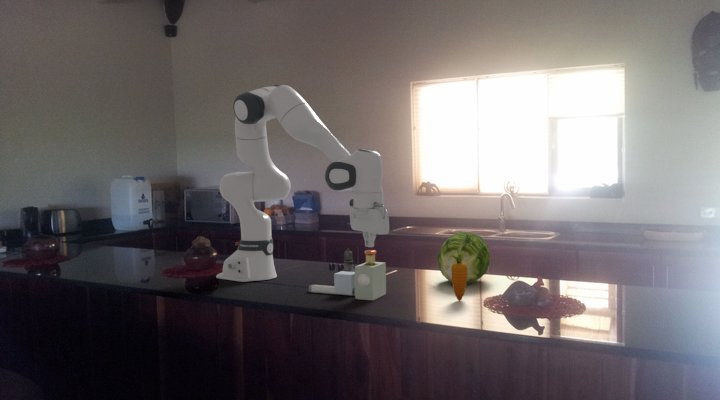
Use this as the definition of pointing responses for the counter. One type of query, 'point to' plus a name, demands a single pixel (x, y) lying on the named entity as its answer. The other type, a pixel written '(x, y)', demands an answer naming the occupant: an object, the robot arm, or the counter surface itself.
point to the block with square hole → (370, 281)
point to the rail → (325, 289)
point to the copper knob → (370, 257)
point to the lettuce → (465, 255)
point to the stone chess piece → (348, 261)
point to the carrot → (459, 275)
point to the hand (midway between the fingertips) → (369, 246)
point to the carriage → (344, 282)
